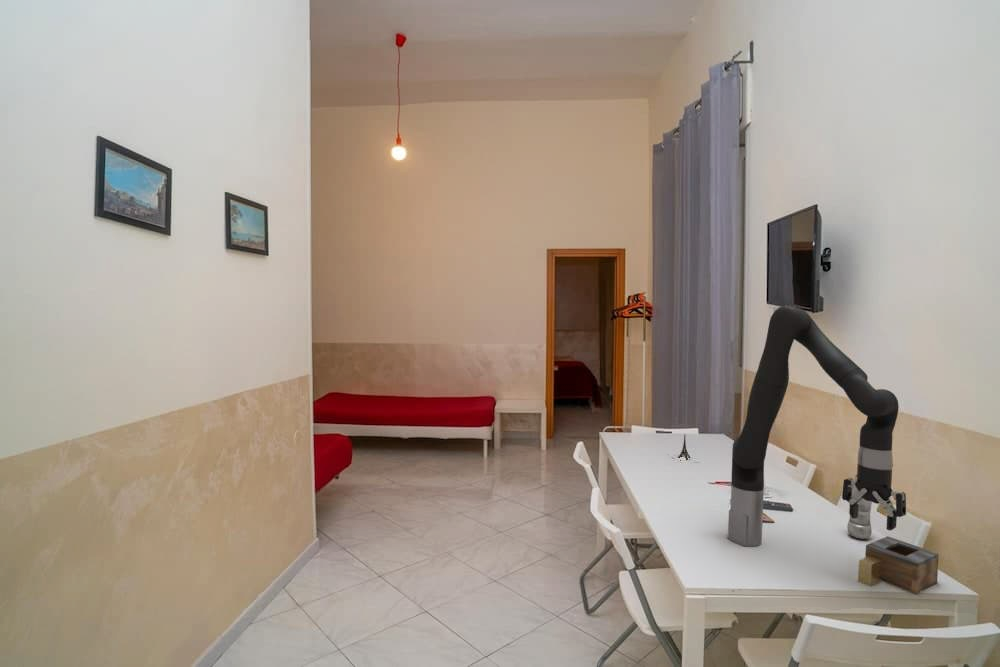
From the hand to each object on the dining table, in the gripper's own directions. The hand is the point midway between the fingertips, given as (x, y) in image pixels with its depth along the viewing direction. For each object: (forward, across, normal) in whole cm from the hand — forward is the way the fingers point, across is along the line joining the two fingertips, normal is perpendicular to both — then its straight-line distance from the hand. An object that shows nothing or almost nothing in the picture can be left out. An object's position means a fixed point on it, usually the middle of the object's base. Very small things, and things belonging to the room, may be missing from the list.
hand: (871, 523), depth 138 cm
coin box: (+16, +3, +10) cm, 19 cm away
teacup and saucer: (+17, -58, +37) cm, 71 cm away
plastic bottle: (+16, -16, +28) cm, 36 cm away
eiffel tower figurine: (+17, -105, +48) cm, 117 cm away
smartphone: (+17, -44, +15) cm, 49 cm away
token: (+16, 0, 0) cm, 16 cm away
